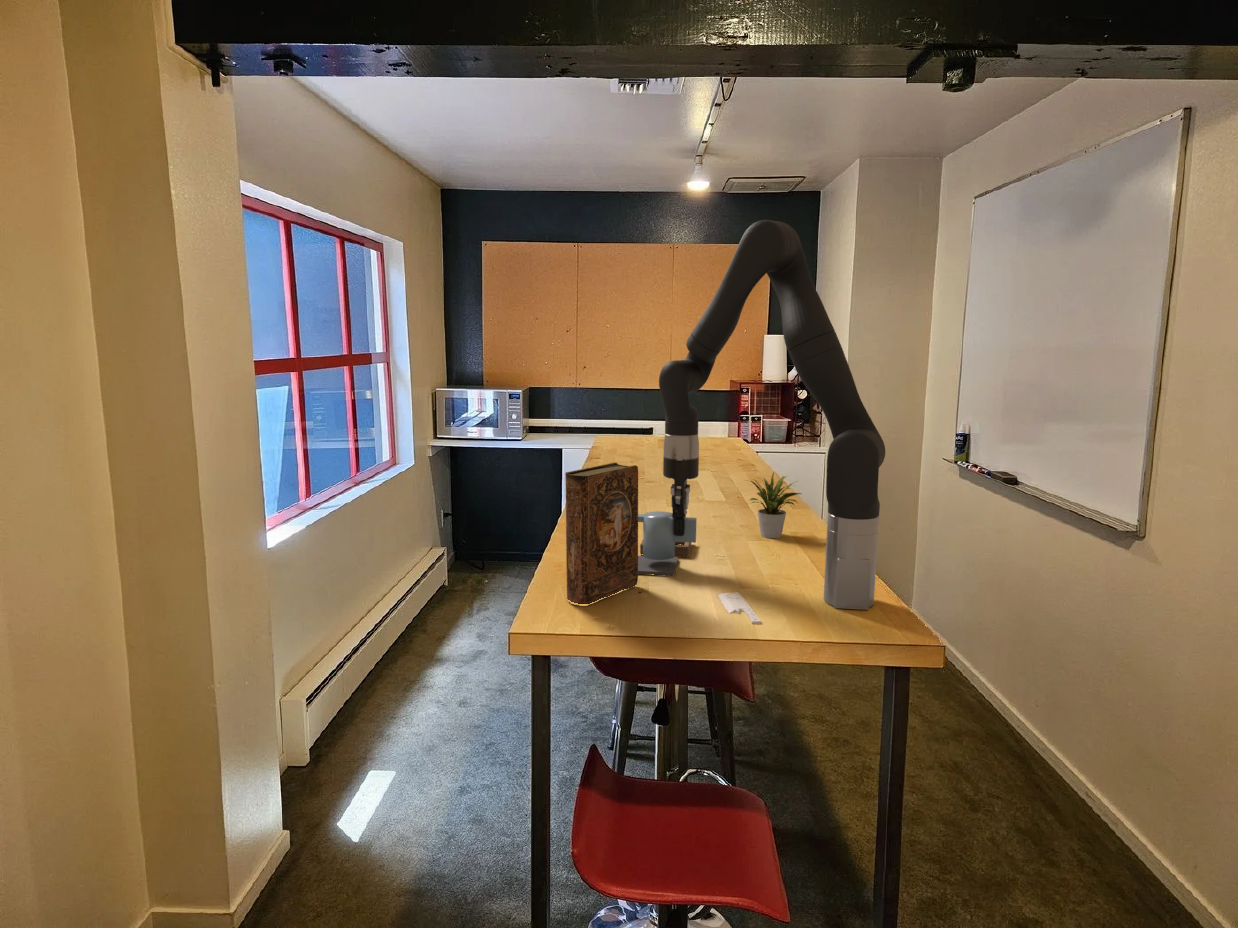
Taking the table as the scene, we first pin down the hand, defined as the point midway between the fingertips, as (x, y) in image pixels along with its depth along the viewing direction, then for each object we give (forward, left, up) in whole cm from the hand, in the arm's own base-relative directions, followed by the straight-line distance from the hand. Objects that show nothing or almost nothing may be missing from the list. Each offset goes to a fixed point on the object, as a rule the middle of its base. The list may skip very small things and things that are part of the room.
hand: (679, 533), depth 163 cm
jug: (0, +3, -5) cm, 6 cm away
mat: (0, +6, -8) cm, 10 cm away
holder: (+14, +4, -8) cm, 17 cm away
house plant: (+30, -20, -8) cm, 37 cm away
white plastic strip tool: (-22, -13, -8) cm, 27 cm away
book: (-18, +14, -8) cm, 24 cm away
